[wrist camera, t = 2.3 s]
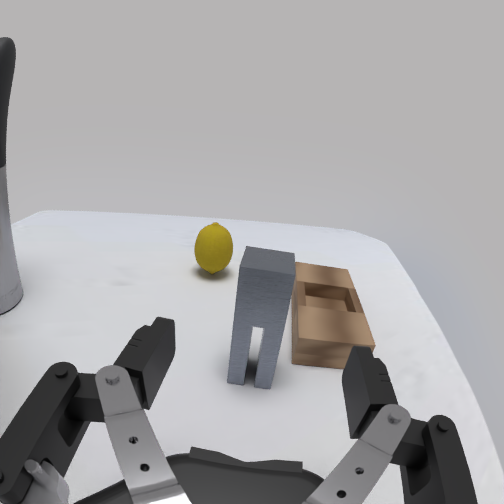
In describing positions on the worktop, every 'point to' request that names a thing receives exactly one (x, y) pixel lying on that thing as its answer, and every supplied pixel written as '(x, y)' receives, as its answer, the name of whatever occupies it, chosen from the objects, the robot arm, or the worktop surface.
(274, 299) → the block
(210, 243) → the lemon
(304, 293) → the wooden slotted base
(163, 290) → the worktop surface
